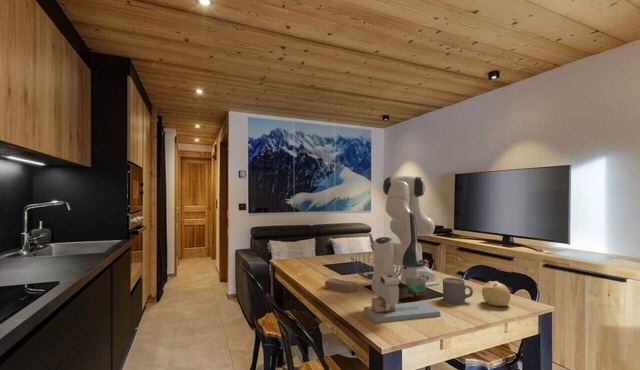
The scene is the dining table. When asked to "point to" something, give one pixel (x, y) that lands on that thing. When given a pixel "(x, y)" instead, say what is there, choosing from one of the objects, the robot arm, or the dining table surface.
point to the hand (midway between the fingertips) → (384, 307)
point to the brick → (341, 285)
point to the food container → (416, 287)
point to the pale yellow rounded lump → (496, 294)
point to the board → (403, 312)
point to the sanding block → (381, 305)
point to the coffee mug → (455, 290)
